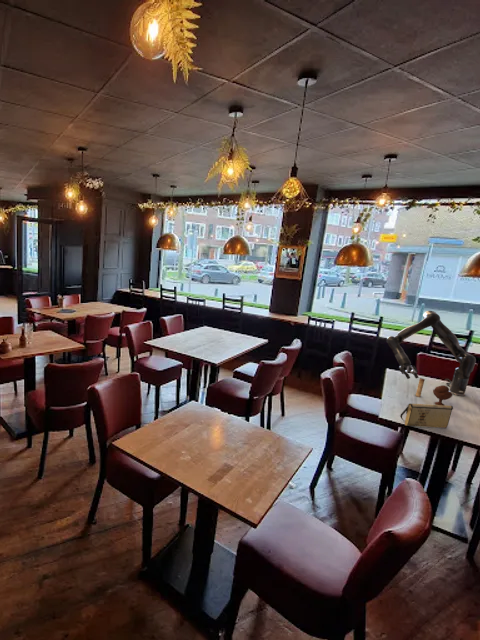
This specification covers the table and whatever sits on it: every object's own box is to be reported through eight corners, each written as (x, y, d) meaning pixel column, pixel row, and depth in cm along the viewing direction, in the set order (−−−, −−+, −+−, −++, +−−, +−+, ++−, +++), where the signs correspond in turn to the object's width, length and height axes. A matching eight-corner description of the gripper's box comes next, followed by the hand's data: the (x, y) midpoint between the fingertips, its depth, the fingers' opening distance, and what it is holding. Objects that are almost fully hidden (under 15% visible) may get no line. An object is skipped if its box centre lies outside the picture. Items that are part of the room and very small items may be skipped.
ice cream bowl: (453, 408, 241) (458, 388, 238) (437, 407, 241) (442, 387, 238) (441, 401, 251) (446, 382, 248) (426, 400, 252) (431, 381, 248)
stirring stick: (416, 394, 261) (420, 377, 258) (421, 396, 259) (425, 379, 256) (414, 395, 259) (419, 378, 256) (419, 397, 257) (423, 380, 254)
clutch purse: (440, 423, 217) (446, 401, 214) (449, 429, 210) (456, 406, 207) (395, 421, 215) (400, 399, 212) (403, 426, 209) (409, 404, 205)
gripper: (399, 357, 266) (410, 376, 258) (413, 357, 270) (424, 376, 261) (392, 361, 272) (402, 380, 264) (405, 361, 276) (415, 379, 268)
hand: (413, 378), depth 263 cm, fingers open, 8 cm apart
